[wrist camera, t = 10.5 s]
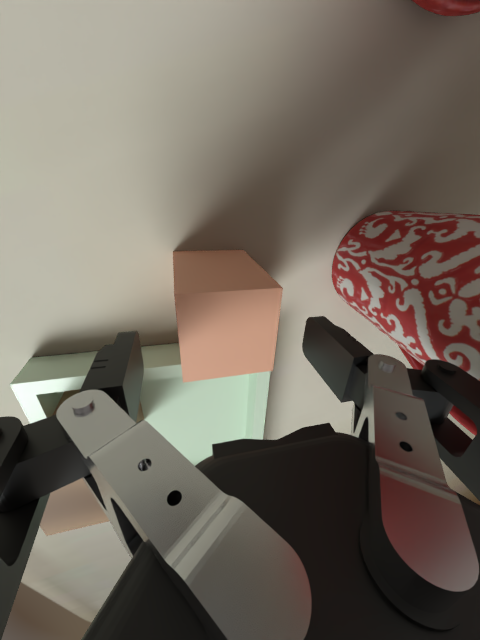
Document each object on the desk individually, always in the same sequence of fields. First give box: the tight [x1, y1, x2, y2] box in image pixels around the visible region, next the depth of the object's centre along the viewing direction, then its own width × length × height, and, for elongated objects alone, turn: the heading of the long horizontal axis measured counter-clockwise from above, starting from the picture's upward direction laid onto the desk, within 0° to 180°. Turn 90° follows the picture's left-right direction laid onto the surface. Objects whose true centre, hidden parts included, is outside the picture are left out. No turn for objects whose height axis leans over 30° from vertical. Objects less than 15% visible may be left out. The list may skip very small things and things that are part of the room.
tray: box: [10, 343, 270, 466], centre depth 21 cm, size 16×16×3 cm
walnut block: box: [40, 389, 144, 536], centre depth 16 cm, size 4×4×7 cm
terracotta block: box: [173, 250, 283, 383], centre depth 14 cm, size 4×4×7 cm
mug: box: [332, 211, 480, 436], centre depth 15 cm, size 13×9×14 cm
